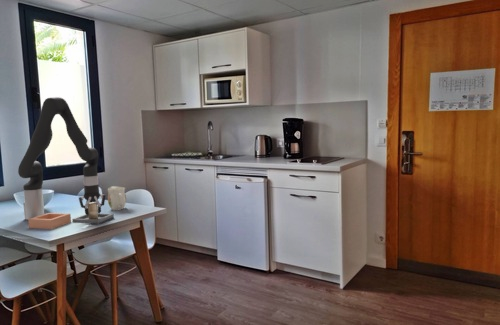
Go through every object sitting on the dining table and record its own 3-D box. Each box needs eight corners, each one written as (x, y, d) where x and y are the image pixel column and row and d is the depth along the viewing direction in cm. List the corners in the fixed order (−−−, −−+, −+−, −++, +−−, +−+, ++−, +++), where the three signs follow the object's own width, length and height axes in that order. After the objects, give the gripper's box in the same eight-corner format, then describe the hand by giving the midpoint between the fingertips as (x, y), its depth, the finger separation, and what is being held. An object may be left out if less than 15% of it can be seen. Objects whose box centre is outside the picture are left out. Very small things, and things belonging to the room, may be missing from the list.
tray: (72, 223, 204) (72, 219, 204) (89, 217, 217) (89, 213, 217) (98, 224, 200) (98, 220, 200) (113, 218, 214) (113, 213, 213)
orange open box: (29, 229, 194) (28, 219, 193) (49, 222, 208) (48, 212, 207) (51, 230, 191) (51, 220, 190) (71, 223, 204) (70, 213, 204)
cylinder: (86, 220, 207) (85, 204, 206) (92, 217, 212) (91, 202, 211) (94, 220, 206) (93, 204, 205) (100, 218, 210) (98, 202, 209)
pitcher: (113, 213, 226) (111, 190, 225) (105, 208, 241) (103, 187, 239) (131, 210, 232) (130, 188, 231) (122, 205, 247) (121, 185, 246)
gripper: (77, 186, 200) (80, 217, 201) (106, 183, 207) (108, 213, 209) (76, 184, 206) (78, 214, 208) (103, 181, 214) (105, 211, 215)
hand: (93, 213), depth 208 cm, fingers open, 5 cm apart
